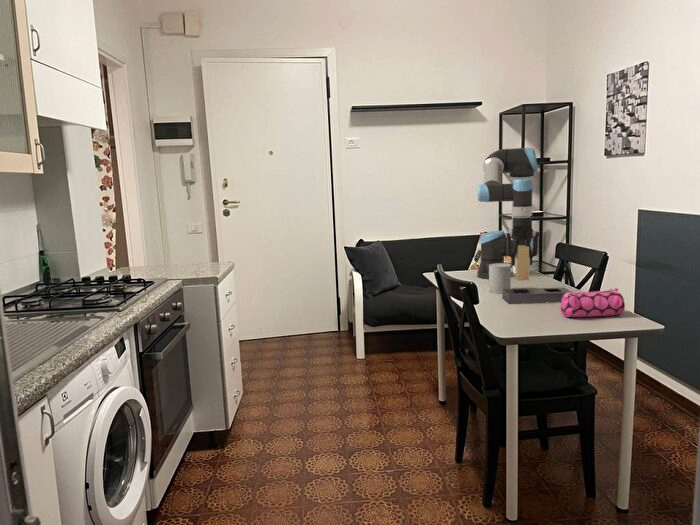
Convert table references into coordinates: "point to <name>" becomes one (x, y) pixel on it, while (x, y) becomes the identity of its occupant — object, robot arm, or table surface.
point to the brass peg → (522, 263)
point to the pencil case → (592, 303)
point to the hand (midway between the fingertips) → (521, 272)
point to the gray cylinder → (499, 277)
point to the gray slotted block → (534, 295)
